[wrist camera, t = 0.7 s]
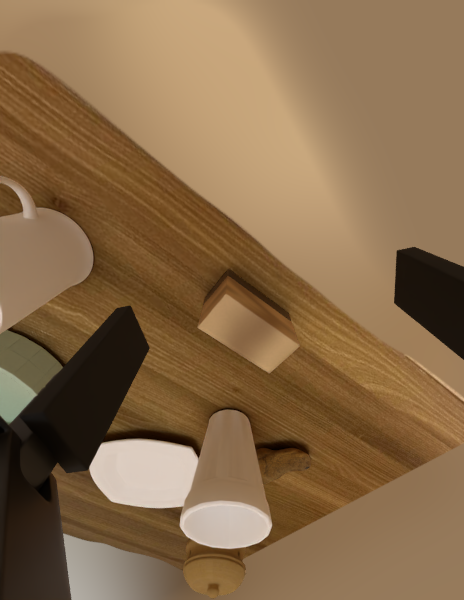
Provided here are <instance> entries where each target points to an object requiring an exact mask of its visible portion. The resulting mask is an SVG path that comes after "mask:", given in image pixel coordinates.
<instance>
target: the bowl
mask: <svg viewBox="0 0 464 600" xmlns="http://www.w3.org/2000/svg"><path fill="white" fill-rule="evenodd" d="M62 368H63V367H62V366H61V364H60V363H59V362H58V361H57V360H56V359H55V358H54V357H53V356H52V355H51V354H49V353H48V352H47V351H46V350H45V349H44V348H42V347H41V346H39V345H37V344H35V343H34V342H32V341H30V340H29V339H27V338H25V337H23V336H21V335H19V334H16V333H13V332H11V331H8V330H6V331H4V332H3V333H1V334H0V415H1V417H2V418H3V419H4V420H5V421H6V422H7V423H8V425H9V424H10V423H11V422H12V421H13V420H14V419H15V418H16V417H17V416H18V415H19V413H20V412H21V411H22V410H23V409H24V408H25V407H26V406H27V405H28V404H29V402H30V401H31V400H32V399H33V398H34V397H35V396H37V395H38V393H39V392H40V390H41V389H42V388H43V387H45V385H46V384H47V383H48V382H49V381H50V380H51V378H52V377H53V376H54V375H55V374H57V373H58V372H59V371H60V370H61V369H62Z"/></svg>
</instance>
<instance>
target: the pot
mask: <svg viewBox="0 0 464 600" xmlns="http://www.w3.org/2000/svg"><path fill="white" fill-rule="evenodd" d="M245 552H246V549H245V547H242V548H232V549H226V548H214V547H210V546H206V545H203V544H199V543H197V542H195V541H194V540H192V539H190V538H189V539H188V541H187V544H186V553H187V556H188V559H187V560H186V561H185V563H184V568H183V574H184V577H185V579H186V581H187V583H188V585H189V586H190V587H191V588H192V589H193V590H195V591H196V592H198V593H202V594H206V595H208V596H209V597H210V598H216V597H217V596H218V595H226V594H229V593H232V592H233V591H235V590H236V589H237V588H238V587H239V586H240V585H241V583H242V581H243V579H244V577H245V570H246V568H245V565H244V563H243V562H242V560H243V558H244V556H245Z"/></svg>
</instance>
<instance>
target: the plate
mask: <svg viewBox="0 0 464 600" xmlns="http://www.w3.org/2000/svg"><path fill="white" fill-rule="evenodd" d="M198 460H199V458H198V456H197V455H196V453H195V451H194V450H193V448H192V447H190V446H185V445H181V444H176V443H171V442H166V441H159V440H152V439H140V438H139V439H123V440H114V441H108V442H102V443H101V445H100V447H99V449H98V451H97V453H96V455H95V457H94V459H93V461H92V463H91V465H90V467H89V469H90V473H91V476H92V478H93V480H94V482H95V483H96V485H97V486H98V487H99V489H100V490H101V491H102V492H103V493H104V494H105V495H106V496H107V497H108V498H109V499H110V500H111V502H116V503H121V504H126V505H132V506H139V507H148V508H170V507H180V506H184V502H185V499H186V497H187V495H188V493H189V492H190V490H191V486H192V482H193V479H194V475H195V471H196V468H197V464H198Z"/></svg>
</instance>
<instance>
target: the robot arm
mask: <svg viewBox="0 0 464 600" xmlns="http://www.w3.org/2000/svg"><path fill="white" fill-rule="evenodd" d="M395 278H396V279H395V297H394V303H395V304H396V305H397V306H398V307H400V308H401V309H402V310H403V311H404V312H406V313H407V314H408V315H409V316H411V317H412V318H413V319H414V320H415V321H417V322H418V323H419V324H421V325H422V326H423V327H424V328H425V329H427V330H428V331H429V332H430V333H431V334H433V335H434V336H435V337H436V338H438V339H439V340H440V341H441V342H442V343H444V344H445V345H446V346H447V347H449V348H450V349H451V350H452V351H454V352H455V353H456V354H457V355H458V356H460V357H461V358H462V359H463V360H464V267H463V266H460V265H458V264H455V263H453V262H450V261H448V260H445V259H443V258H440V257H438V256H435V255H433V254H431V253H428V252H426V251H423V250H421V249H418V248H416V247H412V248H407V249H402V250H397V257H396V277H395ZM148 350H149V345H148V343H147V341H146V339H145V337H144V334H143V332H142V330H141V328H140V326H139V323H138V321H137V319H136V317H135V314H134V312H133V310H132V308H131V306H125V307H121V308H117V309H116V310H115V311H114V312H113V313H112V314H111V315H110V316H109V317H108V319H107V320H106V321H105V322H104V323H103V324H102V325H101V326H100V327H99V328H98V330H97V331H96V332H95V333H94V334H93V335H92V336H91V337H90V338H89V339H88V341H87V342H86V343H85V344H84V345H83V346H82V347H81V348H80V349H79V351H78V352H77V353H76V354H75V355H74V356H73V357H72V358H71V359H70V360H69V362H68V363H67V364H66V365H65V366H64V367H63V368H62V369H61V370H60V371H59V372H58V373H57V374H55V375H54V376H53V377H52V378H51V380H50V381H49V382H48V383H47V384H46V385H45V387H43V388H42V389H41V390H40V392H39V393H38V395H37V396H35V397H34V398H33V399H32V400H31V401H30V402H29V404H28V405H27V406H26V407H25V408H24V409H23V410H22V411H21V412H20V413H19V415H18V416H17V417H16V418H15V419H14V420H13V421H12V422H11V423H10V424H9V425H8V423H7V422H6V421H5V420H4V419H3V418H2V417H1V415H0V600H71V594H70V586H69V578H68V571H67V562H66V555H65V547H64V538H63V530H62V522H61V515H60V507H59V499H58V491H57V483H56V479H55V477H54V476H53V474H52V473H51V472H52V470H53V468H54V467H55V465H56V464H57V462H58V463H59V464H60V466H61V467H62V468H63V469H64V470H65V472H66V473H72V472H79V471H87V470H88V469H89V467H90V465H91V463H92V461H93V459H94V457H95V455H96V453H97V451H98V449H99V447H100V445H101V443H102V441H103V439H104V437H105V435H106V433H107V431H108V429H109V427H110V425H111V423H112V421H113V420H114V418H115V416H116V414H117V412H118V410H119V408H120V406H121V404H122V402H123V400H124V398H125V396H126V394H127V392H128V390H129V388H130V386H131V384H132V382H133V380H134V378H135V376H136V374H137V372H138V370H139V368H140V366H141V364H142V362H143V360H144V358H145V356H146V354H147V352H148Z"/></svg>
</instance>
